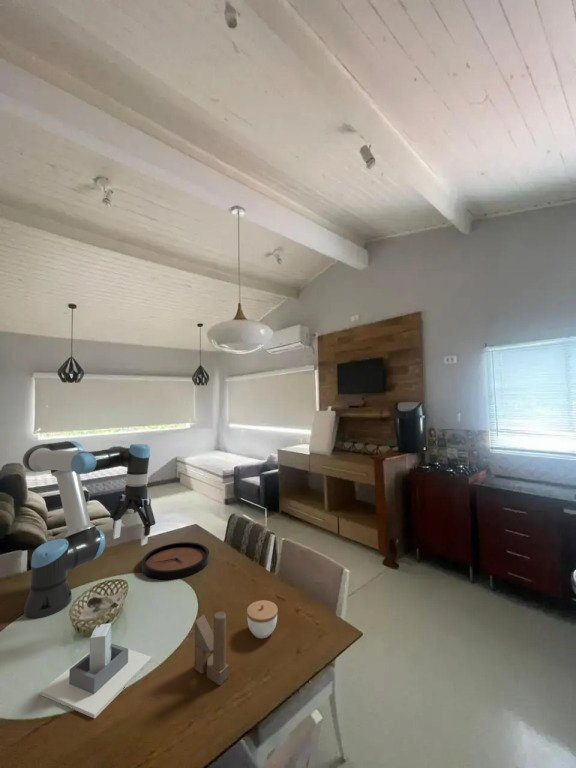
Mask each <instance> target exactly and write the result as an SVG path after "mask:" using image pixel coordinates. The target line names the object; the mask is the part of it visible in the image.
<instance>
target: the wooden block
mask: <svg viewBox="0 0 576 768" xmlns="http://www.w3.org/2000/svg"><path fill="white" fill-rule="evenodd" d="M212 629H213V630H212ZM212 629H211V626H210V624H209V622H208V620H207V618H206V616H205V615H204V614H202V615H201V616H199V617H198V618H197V619H195V620H194V670H195V671H197V672H199V673H200V674H201V675H203V674H205V672H206V677H207V679H209V680H211V681H212V682H214V683H215V684H217V685H219V686H221V685H222V684H223V683H224V682H225V681H226V680H227V679H228V678H229V664H228V663H227V661H226V660H227V656H226V653H227V651H226V650H227V648H226V647H227V642H226V641H227V615H226V612H224V611H217V612H216V613H215V614H214V615H213V628H212Z"/></svg>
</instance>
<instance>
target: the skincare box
mask: <svg viewBox="0 0 576 768" xmlns="http://www.w3.org/2000/svg"><path fill="white" fill-rule="evenodd" d="M111 643H112V623H111V622H109V623H102V624H96V626H95V628H94V630H93V631H92V634H91V636H90V637H89V652H90V671H89V673H91V674H94V675H96V674H97V673H98V672H99V671H100V670H101V669H103V668H104V667H105V666H106V665H107V664H108V663H109V662H111Z"/></svg>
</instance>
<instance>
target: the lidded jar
mask: <svg viewBox="0 0 576 768" xmlns="http://www.w3.org/2000/svg"><path fill="white" fill-rule="evenodd" d="M278 609H279V608H278V606H277V605H276V604H275V602H273V601H271V600H265V599H264V600H263V599H261V600H256V601H254V602H252V603H250V604H249V605H248V607H247V608H246V619H247V626H248V629H249V631H250V632H251V634H252V635H253V636H254V638H255V637H256V638H257V639H265V638H268V637H270V635H271V634H272V633H273V632H274V631H275V628H276V626H277V622H278V613H279V612H278Z"/></svg>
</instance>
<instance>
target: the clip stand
mask: <svg viewBox="0 0 576 768" xmlns="http://www.w3.org/2000/svg"><path fill="white" fill-rule="evenodd" d="M152 660H153V656H151V655H148V654H144V653H141V652H139V651H135V650H133V649H132V650H131V649H130V648H127V647H124V646H122V645H121V646H120V645H117V644H114V643H112V642H111V662H109V663H108V664H107V665H106V666H105V667H104V668H103V669H101V670H100V671H99V672H98V673H97V674H96V675H94V674H91V673H89V671H90V651H89V652H88V653H87V654H85V655H84V656H83V657H82V658H80V659H79V660H78V661H76V663H74V664H73V665H72V666H70V667H68V669H67V670H65V671H64V672H63V673H62V674H60V675H59V676H58V677H56V678H55V679H53V681H51V682H50V683H48V684H47V685H46V686H45V687H44V688H43V689H41V690H40V696H43V697H45V698H47V699H48V700H49V699H50V700H51V701H54V702H56V703H58V704H60V703H61V705H63V706H65V705H67V706H69V707H72V708H73V709H72V708H71V709H72V710H74V709H75V710H74V711H76V712H79V713H80V714H83V715H86V716H88V717H90V718H93V719H94V720H95V719H96V718H97V717H98V716H99V715H100V714H101V713H102V712H103V711H104V710H105V709H106V708H107V707H108V706H109V705H110V704H111V702H112V701H113V700H115V699H116V698H117V696H119V694H121V692H123V690H124V689H125V688H126V687H127V686H128V685H129V684H130V683H132V681H133V680H134V679H135V678H136V677H137V676H138V675H140V673H142V671H143V670H144V669H145V668H146V667H147V666H148V665H149V664H150V663H151V662H152ZM126 685H127V686H126ZM125 686H126V687H125ZM124 687H125V688H124ZM123 688H124V689H123ZM67 706H66V707H67ZM69 707H68V708H69Z"/></svg>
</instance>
